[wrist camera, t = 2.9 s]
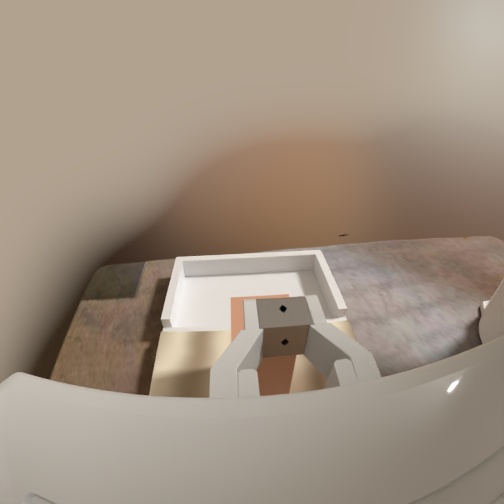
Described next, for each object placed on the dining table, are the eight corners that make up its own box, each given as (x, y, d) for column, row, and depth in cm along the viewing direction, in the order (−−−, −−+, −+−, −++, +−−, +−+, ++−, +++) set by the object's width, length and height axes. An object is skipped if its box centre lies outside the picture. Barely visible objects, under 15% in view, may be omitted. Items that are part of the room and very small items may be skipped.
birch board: (343, 334, 35) (348, 320, 34) (372, 420, 24) (382, 409, 23) (166, 345, 34) (161, 331, 33) (153, 437, 23) (144, 428, 22)
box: (317, 269, 48) (320, 250, 46) (343, 334, 35) (350, 314, 33) (180, 276, 47) (176, 257, 45) (166, 345, 34) (159, 326, 32)
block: (281, 359, 29) (288, 293, 24) (288, 397, 25) (299, 338, 20) (237, 362, 29) (230, 297, 24) (238, 401, 25) (231, 343, 19)
